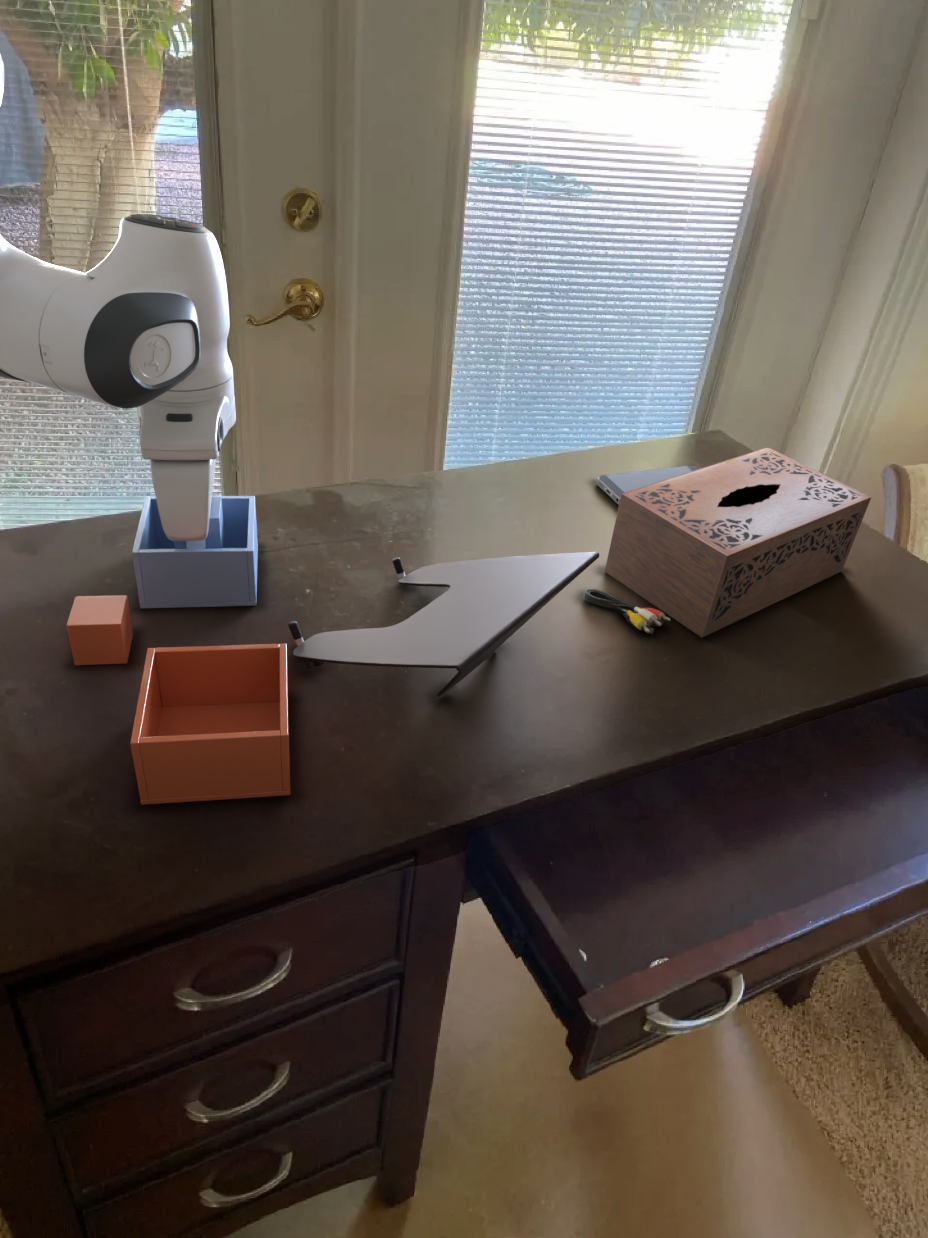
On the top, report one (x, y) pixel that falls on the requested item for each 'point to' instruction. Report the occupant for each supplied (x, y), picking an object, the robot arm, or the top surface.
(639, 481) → the phone
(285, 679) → the terracotta bin
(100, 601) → the terracotta block
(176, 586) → the slate bin
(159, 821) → the top surface
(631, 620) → the composite cable
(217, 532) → the slate block
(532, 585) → the laptop stand
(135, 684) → the top surface
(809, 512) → the tissue box cover
